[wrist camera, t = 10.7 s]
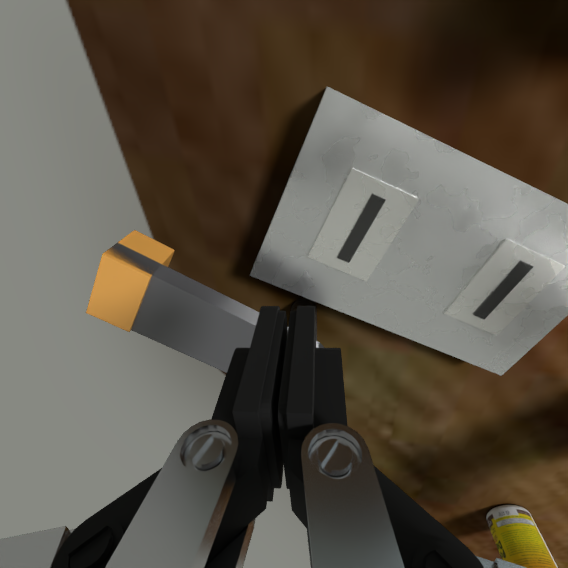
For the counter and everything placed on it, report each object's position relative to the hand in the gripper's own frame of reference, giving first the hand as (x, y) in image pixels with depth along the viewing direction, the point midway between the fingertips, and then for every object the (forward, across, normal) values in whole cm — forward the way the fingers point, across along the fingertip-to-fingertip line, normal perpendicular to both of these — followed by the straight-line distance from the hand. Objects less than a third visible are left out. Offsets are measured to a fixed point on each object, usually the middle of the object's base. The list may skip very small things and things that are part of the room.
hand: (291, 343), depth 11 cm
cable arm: (+13, +6, +7) cm, 16 cm away
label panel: (+18, -9, +4) cm, 20 cm away
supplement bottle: (+18, -26, +45) cm, 55 cm away
